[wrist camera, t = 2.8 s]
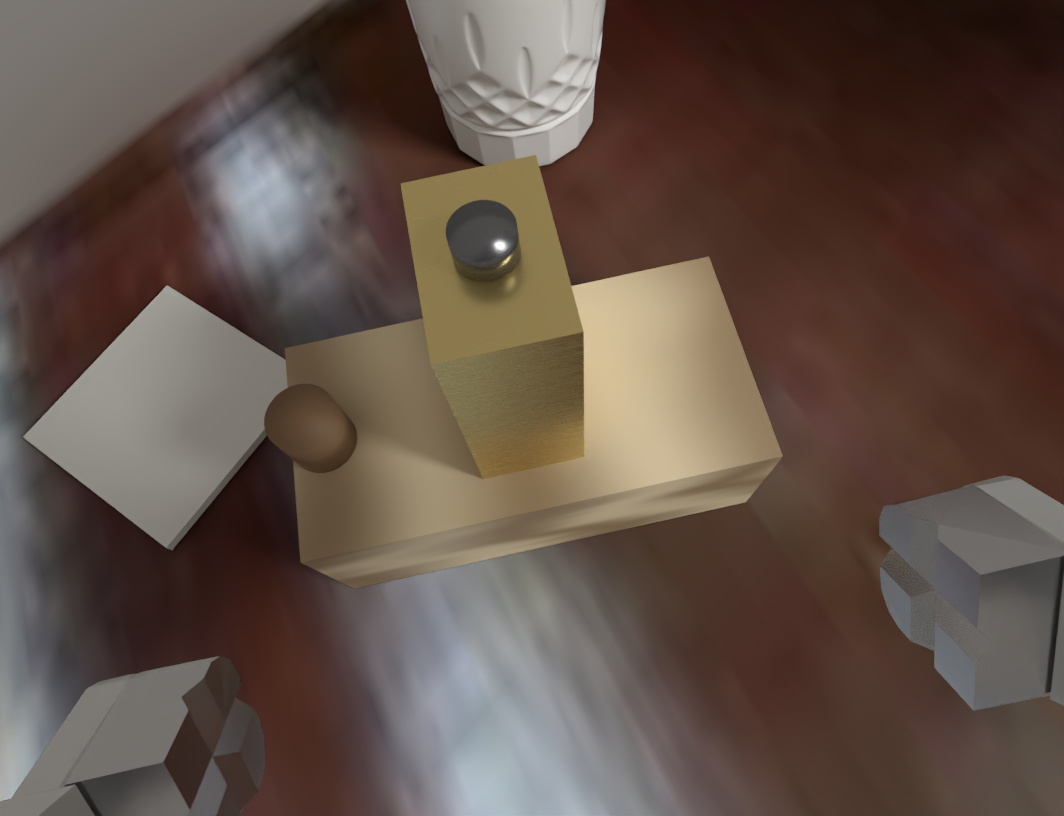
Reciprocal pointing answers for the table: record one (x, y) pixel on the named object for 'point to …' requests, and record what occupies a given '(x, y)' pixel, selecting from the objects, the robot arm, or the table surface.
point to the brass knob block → (499, 313)
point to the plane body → (535, 494)
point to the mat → (164, 415)
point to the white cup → (512, 72)
